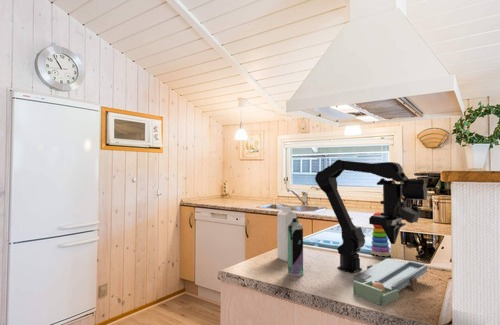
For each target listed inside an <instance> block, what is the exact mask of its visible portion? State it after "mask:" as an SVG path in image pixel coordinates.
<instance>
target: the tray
mask: <svg viewBox="0 0 500 325" xmlns="http://www.w3.org/2000/svg"><path fill="white" fill-rule="evenodd" d="M352 282H353V285H352V289H353V290H352V291H353V296H356V297H358V298H361V299H364V300H366V301H369V302H371V303H374V304H376V305H379V306H381V307H383V306H385V305H387V304H390V303H392V302H394V301H396V300H398V299H399V297H400V296H399V291H398V290H397V289H396V290H393V291H391V292H387V291H384V293H383V290H380V289H377V288H374V287H372V281H367V282H364V283H361V282H358V281H355V280H353V281H352Z"/></svg>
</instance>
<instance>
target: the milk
mask: <svg viewBox="0 0 500 325" xmlns="http://www.w3.org/2000/svg"><path fill="white" fill-rule="evenodd" d="M276 216H277V222H276V224H277V228H276V229H277V231H276V232H277V236H276V238H277V241H276V242H277V249H276V250H277V259H280V260H282V261H284V262H288V224H290V223H292V221H293V218H298V216H297V214H296V213H295V212H294V211H292V207H291V206H285V205H282V210H280V211H279V212H278V213H276Z"/></svg>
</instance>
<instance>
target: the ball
mask: <svg viewBox="0 0 500 325" xmlns="http://www.w3.org/2000/svg"><path fill="white" fill-rule="evenodd" d="M372 287H374V288H377V289H380V290H383V293H384V291H385V288H384V285H383V284H382V283H379V282H376V283H374V284H373V285H372Z"/></svg>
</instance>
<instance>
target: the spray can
mask: <svg viewBox="0 0 500 325" xmlns="http://www.w3.org/2000/svg"><path fill="white" fill-rule="evenodd" d="M287 274H288V275H289V276H292V277H301V276H303V275H304V227H303V224H302V223H301V222H300V221H299V220H298V217H297V218H293V221H292V223H290V224H288V261H287Z"/></svg>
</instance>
